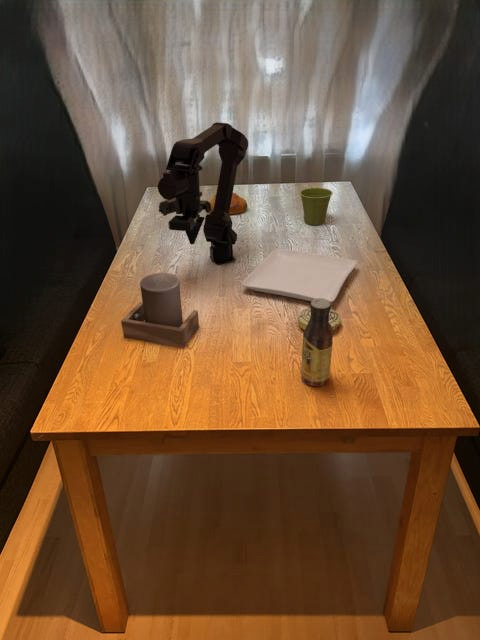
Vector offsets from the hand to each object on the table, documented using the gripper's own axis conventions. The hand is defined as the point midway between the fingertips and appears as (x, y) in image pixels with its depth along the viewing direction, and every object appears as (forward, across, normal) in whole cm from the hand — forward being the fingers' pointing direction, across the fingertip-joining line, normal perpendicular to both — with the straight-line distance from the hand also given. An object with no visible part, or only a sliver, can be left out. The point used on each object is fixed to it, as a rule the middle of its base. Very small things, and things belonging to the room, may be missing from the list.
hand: (192, 243), depth 152 cm
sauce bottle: (+13, +38, +42) cm, 58 cm away
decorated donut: (+13, +16, +40) cm, 45 cm away
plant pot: (+10, -54, +28) cm, 61 cm away
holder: (+13, +28, +1) cm, 31 cm away
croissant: (+10, -60, -8) cm, 61 cm away
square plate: (+12, -7, +31) cm, 34 cm away
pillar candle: (+13, +26, +1) cm, 29 cm away
